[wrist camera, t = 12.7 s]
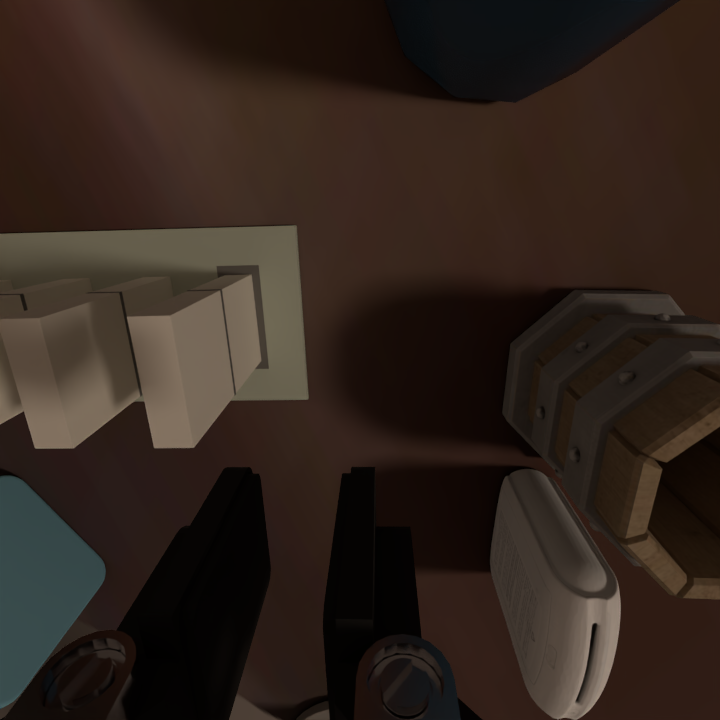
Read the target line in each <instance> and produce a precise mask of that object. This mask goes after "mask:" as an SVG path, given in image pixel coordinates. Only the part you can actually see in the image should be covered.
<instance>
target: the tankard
mask: <svg viewBox="0 0 720 720" xmlns="http://www.w3.org/2000/svg"><path fill="white" fill-rule="evenodd" d="M502 414H503V416H504V417H505V419H506V420H507V422H508V423H509V424H510V425H511V426H512V427H513V428H514V429H515V430H516V431H517V432H518V433H519V434H520V435H521V436H522V437H523V438H524V439H525V440H526V441H527V442H528V443H529V444H530V445H531V446H532V448H533V449H534V450H535V451H536V452H537V453H538V454H539V455H540V456H541V457H542V458H543V459H544V460H545V461H546V462H547V463H548V464H549V465H550V466H551V467H552V468H553V469H555V473H556V476H558V477H559V478H562V485H563V487H564V488H565V490H566V491H567V493H568V494H569V496H570V497H571V498H572V500H573V501H574V503H575V504H576V506H577V507H578V509H579V510H580V511H581V512H582V513H583V514H584V515H585V516H586V517H587V518H588V519H589V520H590V526H591V528H593V529H594V530H595V531H601V532H602V533H603V534H604V535H605V536H606V537H607V538H608V539H609V540H610V541H611V542H612V543H613V544H614V545H615V546H616V548H617V549H618V550H619V551H620V552H621V553H622V554H623V555H624V556H625V557H626V558H627V559H628V560H629V561H630V562H631V563H632V564H633V565H634V566H642V567H643V568H644V569H645V570H646V571H647V572H648V573H649V574H650V575H651V576H652V577H653V578H654V579H655V580H656V581H657V582H658V583H659V584H660V585H661V586H662V587H663V588H664V590H665V591H666V592H667V593H668V594H669V595H675V596H676V597H677V598H698V599H720V325H719V324H716V323H713V322H710V321H707V320H705V319H702V318H699V317H696V316H688V315H685V314H684V313H683V312H682V310H681V309H680V308H679V307H678V305H677V304H676V303H675V302H674V300H673V299H672V298H671V297H670V295H669V294H666V293H662V292H659V291H625V290H574V291H572V292H571V293H570V294H569V295H568V296H566V297H565V298H564V299H563V300H562V301H561V302H559V303H558V304H557V305H556V306H555V307H553V308H552V309H551V310H550V311H549V312H547V313H546V314H545V315H544V316H543V317H541V318H540V319H539V320H538V321H537V322H535V323H534V324H533V325H532V326H531V327H529V328H528V329H527V330H526V331H525V332H524V333H522V334H521V335H520V336H519V337H518V338H516V339H515V340H514V341H513V342H512V343H510V351H509V360H508V368H507V376H506V385H505V393H504V402H503V410H502Z"/></svg>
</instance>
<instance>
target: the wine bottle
mask: <svg viewBox="0 0 720 720" xmlns="http://www.w3.org/2000/svg"><path fill="white" fill-rule="evenodd" d="M384 1H385V4H386V6H387V9H388V12H389V15H390V17H391V20H392V23H393V25H394V28H395V31H396V34H397V36H398V39H399V42H400V44H401V47H402V50H403V53H404V55H405V56H406V57H407V58H408V59H409V60H410V61H412V62H413V63H414V64H415V65H416V66H418V67H419V68H420V69H421V70H422V71H424V72H425V73H426V74H427V75H428V76H430V77H431V78H432V79H433V80H434V81H436V82H437V83H438V84H439V85H440V86H442V87H443V88H444V89H445V90H446V91H448V92H449V93H450V94H451V95H452V96H454V97H462V98H472V99H483V100H493V101H503V102H514V103H516V102H518V101H520V100H522V99H524V98H526V97H528V96H530V95H532V94H534V93H536V92H538V91H540V90H542V89H544V88H546V87H548V86H550V85H552V84H554V83H556V82H558V81H560V80H562V79H564V78H566V77H568V76H570V75H572V74H574V73H576V72H578V71H579V70H580V69H582V68H583V67H585V66H586V65H588V64H589V63H591V62H592V61H593V60H595V59H596V58H598V57H599V56H601V55H602V54H603V53H605V52H606V51H608V50H609V49H611V48H612V47H614V46H615V45H616V44H618V43H619V42H621V41H622V40H624V39H625V38H627V37H628V36H629V35H631V34H632V33H634V32H635V31H637V30H638V29H640V28H641V27H642V26H644V25H645V24H647V23H648V22H650V21H651V20H652V19H654V18H655V17H657V16H658V15H660V14H661V13H663V12H664V11H665V10H667V9H668V8H670V7H671V6H673V5H674V4H676V3H677V2H678V1H680V0H384Z"/></svg>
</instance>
